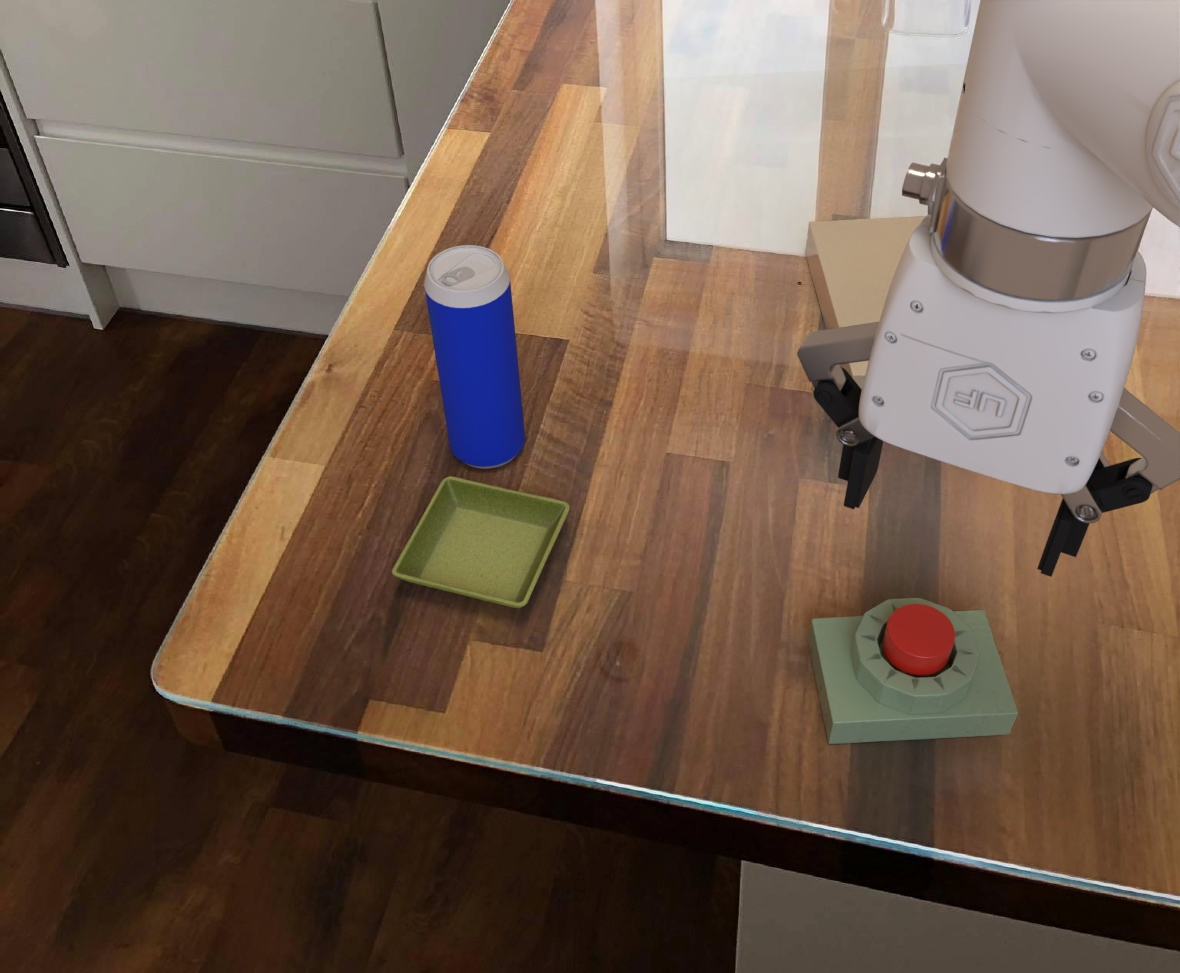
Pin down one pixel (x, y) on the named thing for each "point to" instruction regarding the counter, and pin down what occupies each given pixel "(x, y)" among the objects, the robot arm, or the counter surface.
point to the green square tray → (482, 541)
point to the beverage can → (476, 354)
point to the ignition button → (918, 639)
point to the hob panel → (855, 270)
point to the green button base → (908, 681)
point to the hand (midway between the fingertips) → (953, 520)
